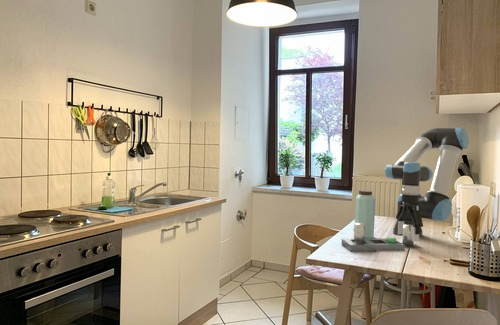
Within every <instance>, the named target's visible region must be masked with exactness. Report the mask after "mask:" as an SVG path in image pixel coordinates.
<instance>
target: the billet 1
mask: <svg viewBox="0 0 500 325" xmlns="http://www.w3.org/2000/svg"><path fill="white" fill-rule="evenodd" d="M353 238H354V241H353V242H354V243H355V244H364V241H365V224H363V223H355V222H354V223H353Z"/></svg>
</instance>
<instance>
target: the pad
mask: <svg viewBox="0 0 500 325" xmlns="http://www.w3.org/2000/svg"><path fill="white" fill-rule="evenodd" d="M405 249H423V247H421V246H420V245H418V244H416V243H414V245H413V247H407V246H405Z"/></svg>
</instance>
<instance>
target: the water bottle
mask: <svg viewBox="0 0 500 325" xmlns="http://www.w3.org/2000/svg"><path fill="white" fill-rule="evenodd" d="M354 204H355V205H354V223H363V224H365V238H374V236H375V215H376V198H375V197H374V196H373V191H372V190H365V189H361V190H358V194H357V195H356V196H355V203H354Z"/></svg>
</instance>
